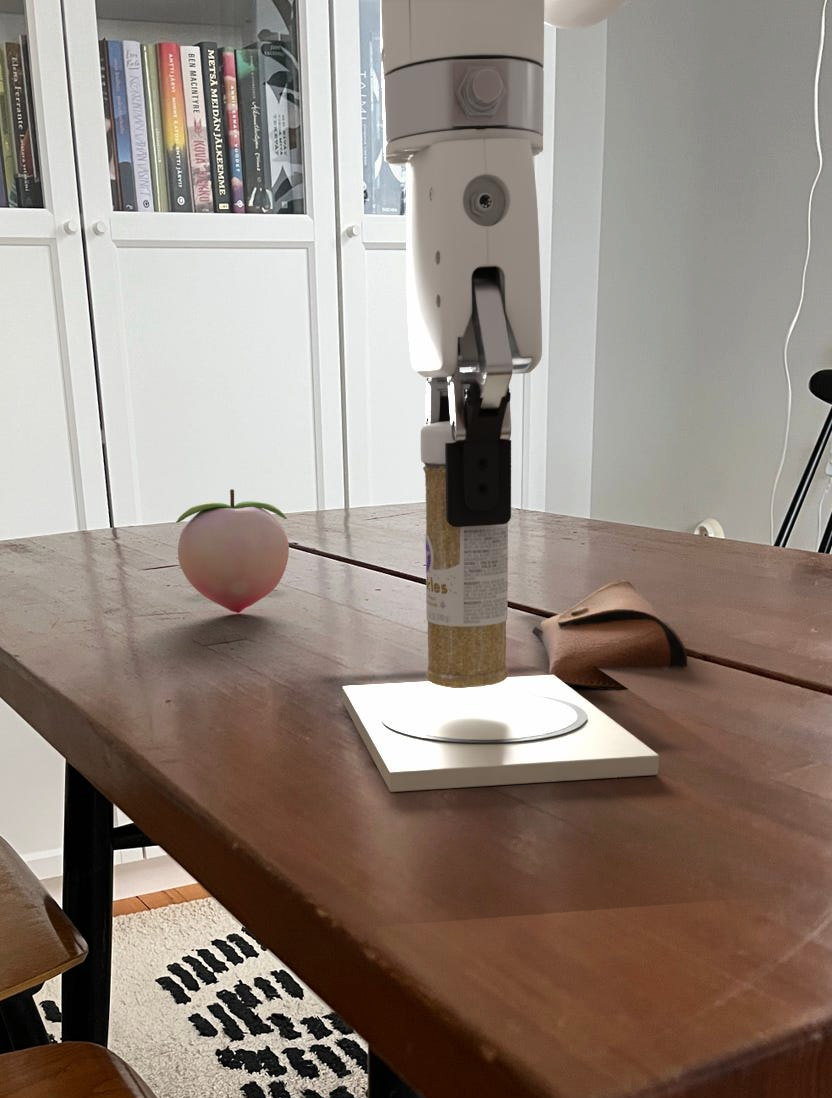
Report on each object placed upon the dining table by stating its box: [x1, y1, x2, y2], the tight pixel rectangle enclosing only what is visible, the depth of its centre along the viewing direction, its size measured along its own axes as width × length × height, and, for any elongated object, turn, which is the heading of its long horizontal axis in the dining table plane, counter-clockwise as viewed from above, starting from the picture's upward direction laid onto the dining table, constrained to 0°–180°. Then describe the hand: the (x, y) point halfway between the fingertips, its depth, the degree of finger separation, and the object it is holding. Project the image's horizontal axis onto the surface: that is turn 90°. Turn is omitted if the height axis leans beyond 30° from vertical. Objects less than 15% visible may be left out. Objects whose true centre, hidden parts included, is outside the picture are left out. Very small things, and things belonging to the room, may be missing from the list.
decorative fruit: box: [176, 488, 290, 614], centre depth 104 cm, size 9×8×10 cm
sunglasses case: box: [531, 579, 688, 690], centre depth 84 cm, size 18×7×7 cm
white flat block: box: [341, 674, 660, 793], centre depth 68 cm, size 13×18×1 cm
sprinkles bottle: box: [420, 421, 509, 688], centre depth 66 cm, size 5×5×14 cm
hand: (467, 515), depth 66 cm, fingers closed on sprinkles bottle, 4 cm apart
